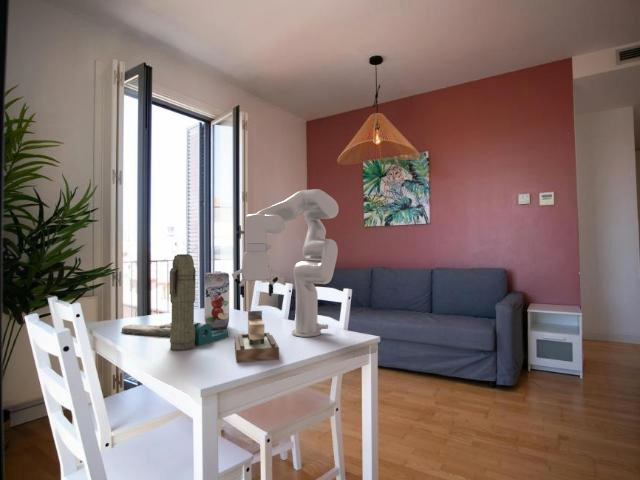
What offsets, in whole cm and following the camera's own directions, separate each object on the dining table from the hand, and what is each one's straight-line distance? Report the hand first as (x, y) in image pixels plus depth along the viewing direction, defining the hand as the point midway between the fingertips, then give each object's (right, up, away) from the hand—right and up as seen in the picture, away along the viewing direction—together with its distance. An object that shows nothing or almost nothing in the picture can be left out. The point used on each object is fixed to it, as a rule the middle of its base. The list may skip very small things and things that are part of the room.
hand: (256, 296), depth 133 cm
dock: (0, -20, -1) cm, 20 cm away
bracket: (-22, -21, +18) cm, 35 cm away
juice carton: (-25, -21, +39) cm, 51 cm away
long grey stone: (-48, -21, +28) cm, 60 cm away
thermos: (-29, -20, +6) cm, 36 cm away
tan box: (0, -16, -1) cm, 16 cm away
